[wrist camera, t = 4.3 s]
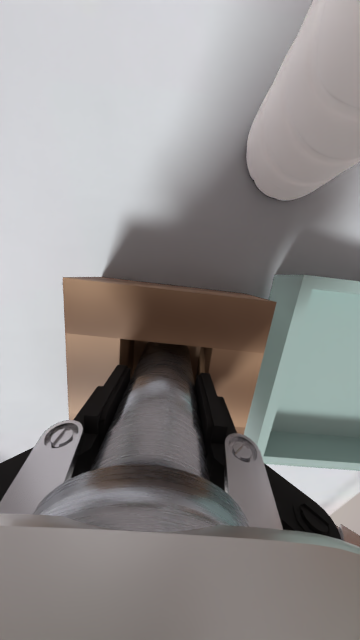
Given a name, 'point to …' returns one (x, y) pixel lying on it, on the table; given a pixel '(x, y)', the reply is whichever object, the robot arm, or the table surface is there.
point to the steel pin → (150, 459)
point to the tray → (310, 376)
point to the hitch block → (164, 335)
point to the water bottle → (311, 106)
